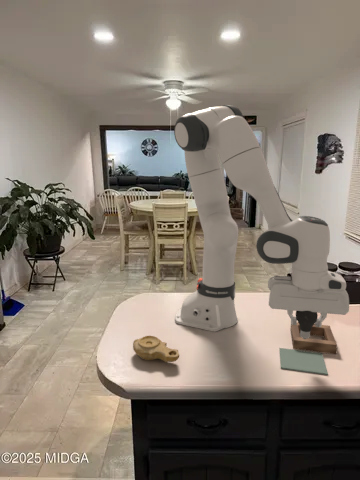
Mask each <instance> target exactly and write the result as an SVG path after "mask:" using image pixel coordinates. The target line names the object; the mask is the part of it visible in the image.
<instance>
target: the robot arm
mask: <svg viewBox="0 0 360 480" xmlns="http://www.w3.org/2000/svg"><path fill="white" fill-rule="evenodd" d="M247 121H248V120H246V119H245V117H244V115H243V113H242V111H241V110H240V108H238V106H235V105H232V104H231V105H230V104H229V105H228V104H224V105H221V106H212V107H205V108H204V109H200V110H196V111H193V112H188V113H185V114H184V115H182V116H180V117H178V118H177V119H176V121H175V124H174V127H173V129H174V130H173V135H174V139H175V141H176V143H177V145H178V147H179V148H180V149H182V150H183V151H184V162H185V166H186V167H185V168H186V172H187V176H188V180H189V183H190V188H191V191H192V196H193V200H194V202H195V207H196V210H197V213H198V214H197V215H198V218H199V221H200V222H199V223H200V226H201V229H202V233H203V250H202V251H203V253H202V255H203V256H202V277H199V278H198V280H197V283H196V290H195V291H194V292H192V293H191V294H189V295H187V296H186V297H185V298H184V300H183V301H182V305H181V307H179V309H178V310H177V311H176V312H175V316H174V322H175V324H178V325H181V326H182V325H183V326H187V327H192V328H196V329H201V330H206V331H210V332H218V331H220V330H223V329H227V328H230V327H233V326H234V325H236V324H237V323H238V320H239V319H238V317H237V311H236V305H235V299H236V282H235V264H236V262H235V261H236V254H237V251H238V250H237V249H238V240H239V226H238V224H237V222H236V221H235V219H233V217H232V214H231V208H230V204H229V203H230V202H229V197H228V196H229V195H228V190H227V189H228V188H227V186H226V181H225V177H224V173H223V170H222V167H223V169H224V171H225V174H226V176H227V178H228V179H229V181H230V182H231V184H232V185H233V186H234V187H235V188H237V189H238V190H241V191H244V192H245V193H247V194H249V195H250V196H251V197H253V199H254V200H255V201H256V203H257V204H258V206H259V209H260V210H261V213H262V214H263V218H264V219H265V221H266V223H267V227H268V229H266V230H265V231H264V232H263V233H261V234H260V235H259V237H258V238H257V241H256V243H255V244H256V251H257V254H258V255H259V257H260V259H262V260H263V261H265V262H267V263H268V264H272V265H275V264H276V265H277V264H278V265H282V264H291V275H274V276H272V277H270V278H269V279H268V281H267V282H268V283H267V288H268V290H269V294H268V306H269V308H271V309H273V310H274V309H275V310H280V311H281V310H284V311H287V315H288V317H289V318H290V326H291V325H297V322H298V321H297V319H296V316H294V315H293V314H294V311H295V312H296V311H311V312H317V314H318V313H320V316H319V317H317V321H316V322H315V327H321V325H323V322H324V321H325V320H326V318H327V316H328V315H329V314H331V315H342V316H345V315H347V314H348V313H349V312H350V297H349V294H348V291H347V290H346V289H347V282H346V280H345V278H344V277H343V276H342V275H341V274H339V273H336V272H333V271H331V270H329V266H328V257H329V255H330V247H331V234H330V227H329V224H328V223H327V222H326V221H325V220H323V219H321V218H319V217H315V216H309V215H308V216H307V215H302V216H298V217H297V218H295V219H294V220H293V219H292V218H291V217H290V216H289V214H288V212H287V209H286V207H285V205H284V203H283V201H282V198H281V197H280V194H279V192H278V190H277V188H276V187H275V184H274V182H273V179H272V176H271V174H270V169H269V167H268V164H267V161H266V158H265V156H264V152H263V150H262V147H261V146H260V145H261V144H260V143H259V140H258V139H257V136H256V135H255V133H254V131H253V129H252V127H251V126H250V124H249V123H248V122H247Z"/></svg>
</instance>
